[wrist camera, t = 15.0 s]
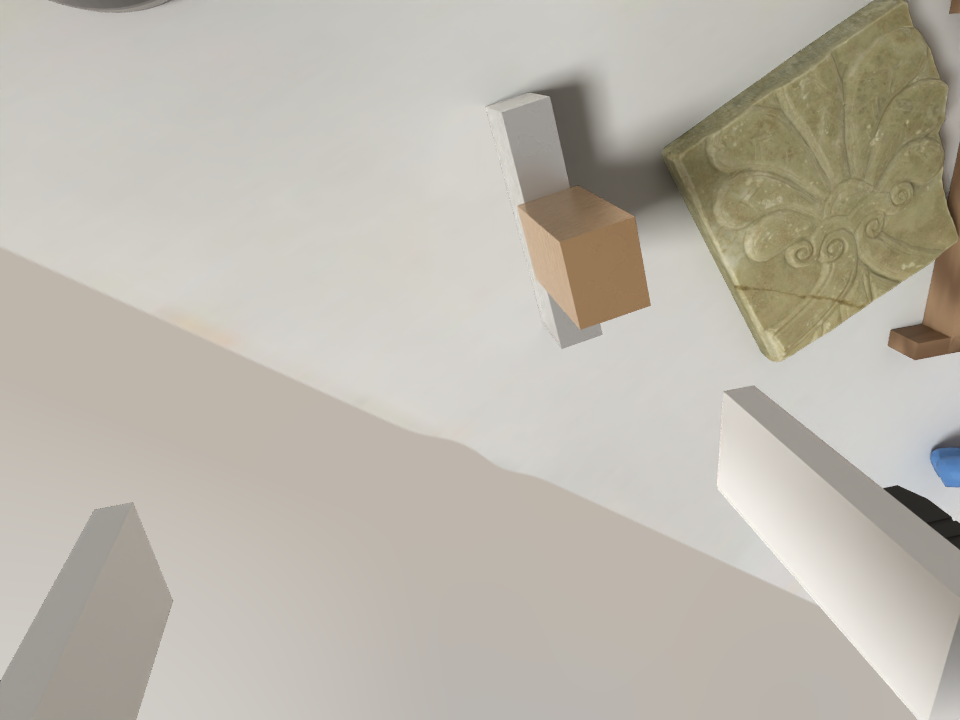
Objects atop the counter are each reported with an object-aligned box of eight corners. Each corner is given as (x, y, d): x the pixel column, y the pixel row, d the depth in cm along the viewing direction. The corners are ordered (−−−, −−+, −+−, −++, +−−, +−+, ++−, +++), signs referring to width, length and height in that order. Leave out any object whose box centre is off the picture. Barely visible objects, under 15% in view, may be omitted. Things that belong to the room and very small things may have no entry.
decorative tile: (757, 354, 56) (782, 372, 52) (653, 152, 47) (675, 159, 44) (953, 222, 54) (992, 233, 51) (884, -14, 45) (925, -20, 42)
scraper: (477, 109, 43) (533, 130, 30) (535, 89, 43) (614, 103, 31) (535, 324, 50) (600, 414, 38) (585, 307, 50) (666, 391, 38)
